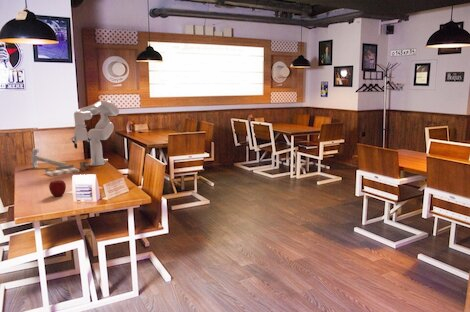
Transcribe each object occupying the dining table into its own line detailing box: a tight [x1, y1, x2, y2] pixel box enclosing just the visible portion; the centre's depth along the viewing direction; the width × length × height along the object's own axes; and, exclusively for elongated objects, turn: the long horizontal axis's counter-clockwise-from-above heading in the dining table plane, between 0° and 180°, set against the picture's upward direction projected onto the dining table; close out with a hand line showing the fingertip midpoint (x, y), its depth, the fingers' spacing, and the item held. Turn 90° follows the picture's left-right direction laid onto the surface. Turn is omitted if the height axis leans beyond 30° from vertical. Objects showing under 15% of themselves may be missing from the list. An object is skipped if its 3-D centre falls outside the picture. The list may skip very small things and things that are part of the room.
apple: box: [48, 180, 67, 197], centre depth 242 cm, size 10×10×10 cm
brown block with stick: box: [79, 161, 90, 171], centre depth 321 cm, size 4×10×6 cm, turn 46°
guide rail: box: [44, 164, 75, 172], centre depth 313 cm, size 22×1×2 cm, turn 136°
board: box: [44, 167, 80, 177], centre depth 310 cm, size 22×12×2 cm, turn 136°
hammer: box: [30, 147, 68, 169], centre depth 331 cm, size 16×5×30 cm
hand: (82, 147), depth 319 cm, fingers open, 9 cm apart
